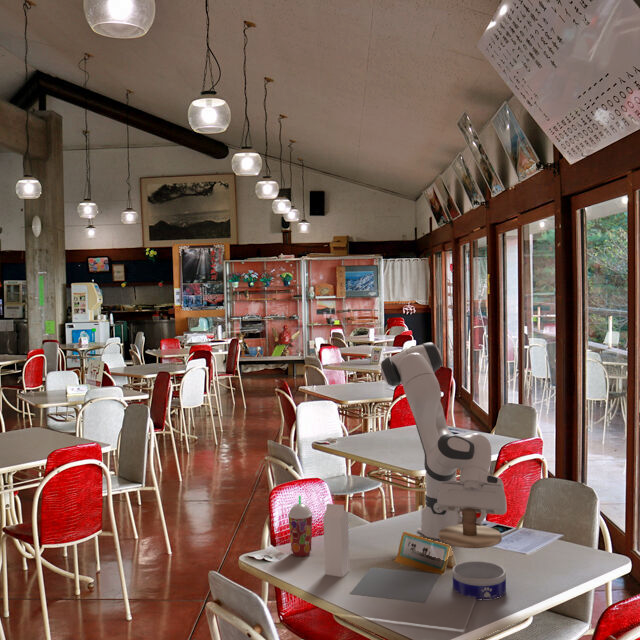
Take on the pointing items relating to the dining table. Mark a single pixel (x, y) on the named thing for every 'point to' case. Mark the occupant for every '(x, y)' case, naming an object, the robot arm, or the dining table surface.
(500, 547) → the dining table surface
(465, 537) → the lid
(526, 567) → the dining table surface
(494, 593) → the dog bowl
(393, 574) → the mat
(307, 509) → the smoothie
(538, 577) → the dining table surface
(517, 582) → the dining table surface
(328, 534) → the milk
